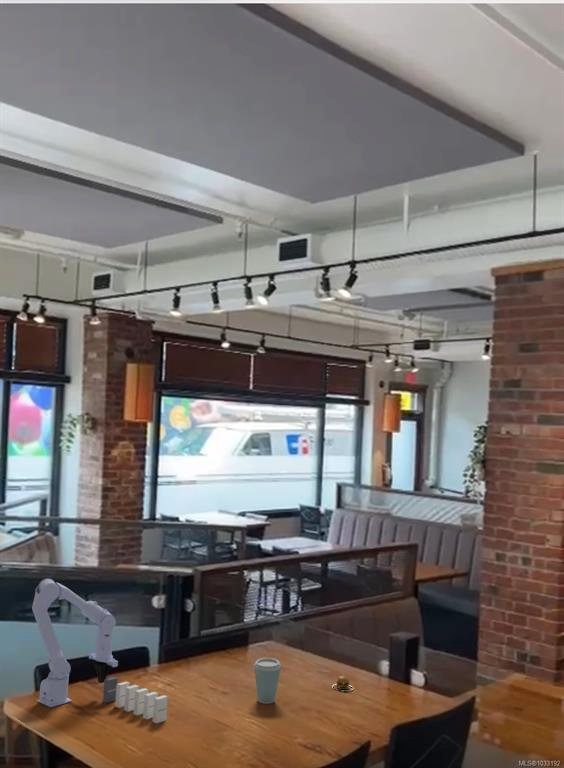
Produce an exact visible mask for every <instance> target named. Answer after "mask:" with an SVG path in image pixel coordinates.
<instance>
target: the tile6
mask: <svg viewBox="0 0 564 768" xmlns="http://www.w3.org/2000/svg"><path fill="white" fill-rule="evenodd" d="M168 699H169V698H168V695H165V694H164V695H160V696H158V697H156V698H154V709H153V718H152V723H155V724H159V723H163V722H166V721H167V712H168V711H167V710H168V701H169V700H168Z"/></svg>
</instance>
